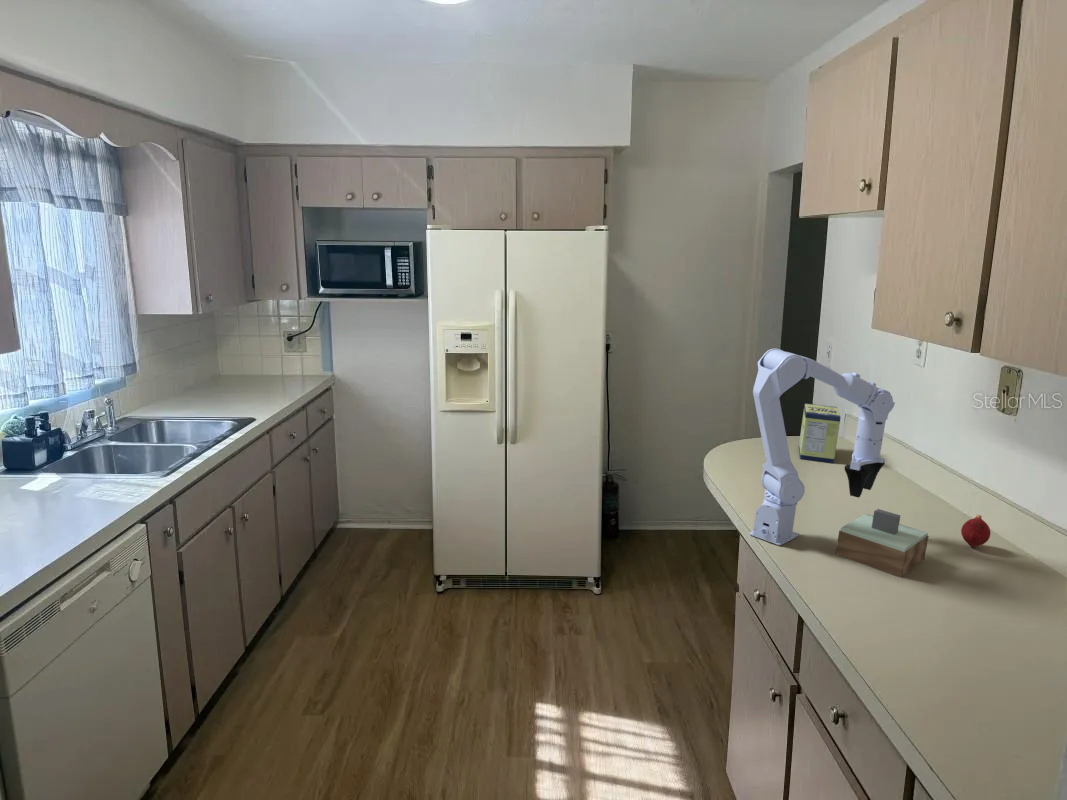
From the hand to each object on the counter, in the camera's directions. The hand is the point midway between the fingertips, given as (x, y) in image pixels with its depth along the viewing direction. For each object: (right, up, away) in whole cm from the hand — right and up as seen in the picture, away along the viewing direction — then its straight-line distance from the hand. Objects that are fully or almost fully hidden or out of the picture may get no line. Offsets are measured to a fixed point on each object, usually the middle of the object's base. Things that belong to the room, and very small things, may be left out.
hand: (860, 492), depth 172 cm
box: (0, -13, -10) cm, 17 cm away
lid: (0, -8, -12) cm, 14 cm away
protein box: (+15, +4, +66) cm, 68 cm away
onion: (+25, -13, -2) cm, 28 cm away
